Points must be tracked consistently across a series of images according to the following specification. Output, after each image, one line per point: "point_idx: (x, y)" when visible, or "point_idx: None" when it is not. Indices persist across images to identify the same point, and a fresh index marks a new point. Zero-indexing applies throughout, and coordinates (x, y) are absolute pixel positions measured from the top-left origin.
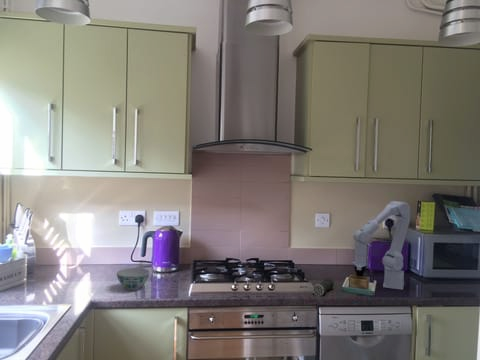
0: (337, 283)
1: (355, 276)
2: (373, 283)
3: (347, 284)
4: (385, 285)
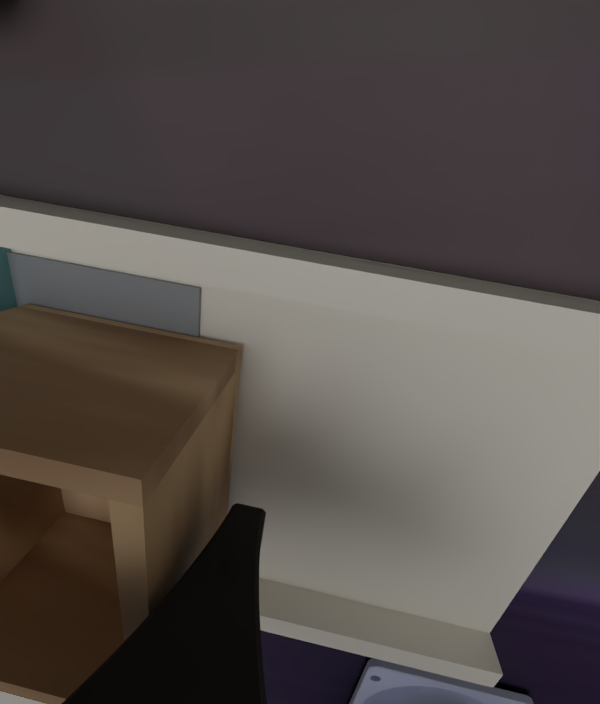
0: (429, 105)
1: (126, 554)
2: (469, 624)
3: (320, 310)
4: (403, 689)
